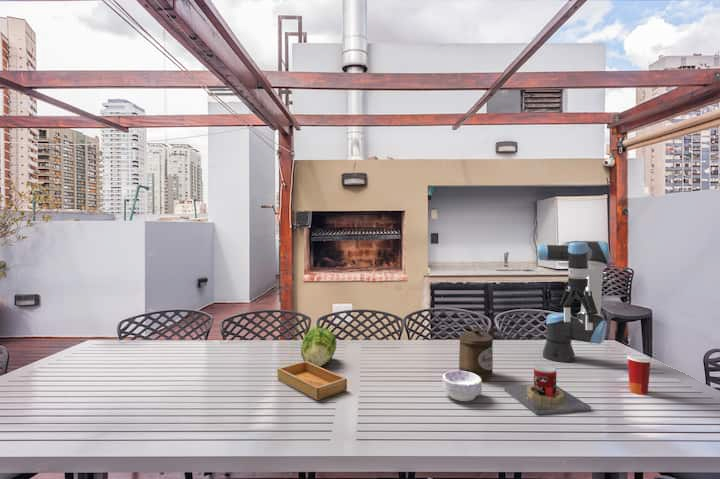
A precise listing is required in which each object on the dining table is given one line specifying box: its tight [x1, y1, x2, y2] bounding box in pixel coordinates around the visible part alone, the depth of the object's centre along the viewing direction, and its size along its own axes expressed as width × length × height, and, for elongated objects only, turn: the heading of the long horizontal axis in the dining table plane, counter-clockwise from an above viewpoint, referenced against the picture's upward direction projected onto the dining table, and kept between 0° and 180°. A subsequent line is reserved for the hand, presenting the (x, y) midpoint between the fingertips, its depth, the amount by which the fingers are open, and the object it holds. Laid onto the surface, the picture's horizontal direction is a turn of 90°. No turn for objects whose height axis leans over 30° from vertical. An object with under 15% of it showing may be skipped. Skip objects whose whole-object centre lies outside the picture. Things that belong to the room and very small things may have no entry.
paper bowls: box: [442, 370, 483, 402], centre depth 153 cm, size 15×15×8 cm
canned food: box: [533, 364, 557, 397], centre depth 150 cm, size 8×8×11 cm
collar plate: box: [503, 384, 592, 416], centre depth 150 cm, size 22×22×4 cm
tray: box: [277, 360, 348, 401], centre depth 165 cm, size 31×15×6 cm, turn 42°
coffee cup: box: [626, 352, 652, 396], centre depth 158 cm, size 8×8×15 cm
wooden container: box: [458, 326, 494, 382], centre depth 176 cm, size 15×15×22 cm
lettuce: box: [300, 327, 337, 367], centre depth 191 cm, size 18×23×19 cm
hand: (577, 325), depth 167 cm, fingers open, 13 cm apart
